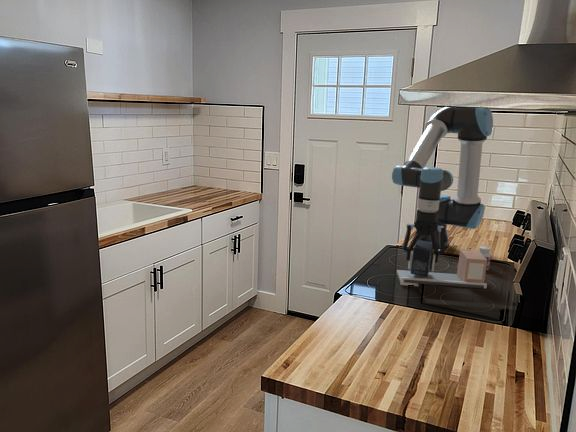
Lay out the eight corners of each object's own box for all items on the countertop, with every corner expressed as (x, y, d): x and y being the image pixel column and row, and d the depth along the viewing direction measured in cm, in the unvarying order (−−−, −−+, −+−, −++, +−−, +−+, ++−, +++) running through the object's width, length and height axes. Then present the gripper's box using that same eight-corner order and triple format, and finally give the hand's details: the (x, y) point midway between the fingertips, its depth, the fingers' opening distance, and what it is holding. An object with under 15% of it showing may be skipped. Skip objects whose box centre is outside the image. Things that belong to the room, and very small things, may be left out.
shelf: (396, 272, 187) (397, 265, 187) (475, 278, 185) (476, 271, 184) (400, 285, 175) (401, 277, 174) (486, 291, 172) (487, 284, 172)
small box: (413, 265, 187) (416, 239, 185) (430, 268, 185) (434, 242, 182) (409, 273, 178) (413, 246, 175) (427, 277, 175) (431, 249, 173)
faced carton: (456, 275, 184) (460, 250, 182) (475, 276, 184) (479, 251, 181) (463, 284, 174) (467, 258, 172) (483, 286, 174) (487, 260, 171)
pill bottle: (489, 273, 191) (493, 250, 189) (475, 272, 192) (479, 249, 190) (487, 269, 196) (490, 246, 194) (473, 267, 197) (476, 245, 195)
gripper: (400, 210, 173) (394, 270, 178) (458, 214, 171) (450, 275, 176) (397, 206, 180) (391, 264, 185) (453, 209, 178) (446, 268, 184)
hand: (420, 269), depth 181 cm, fingers closed on small box, 7 cm apart
